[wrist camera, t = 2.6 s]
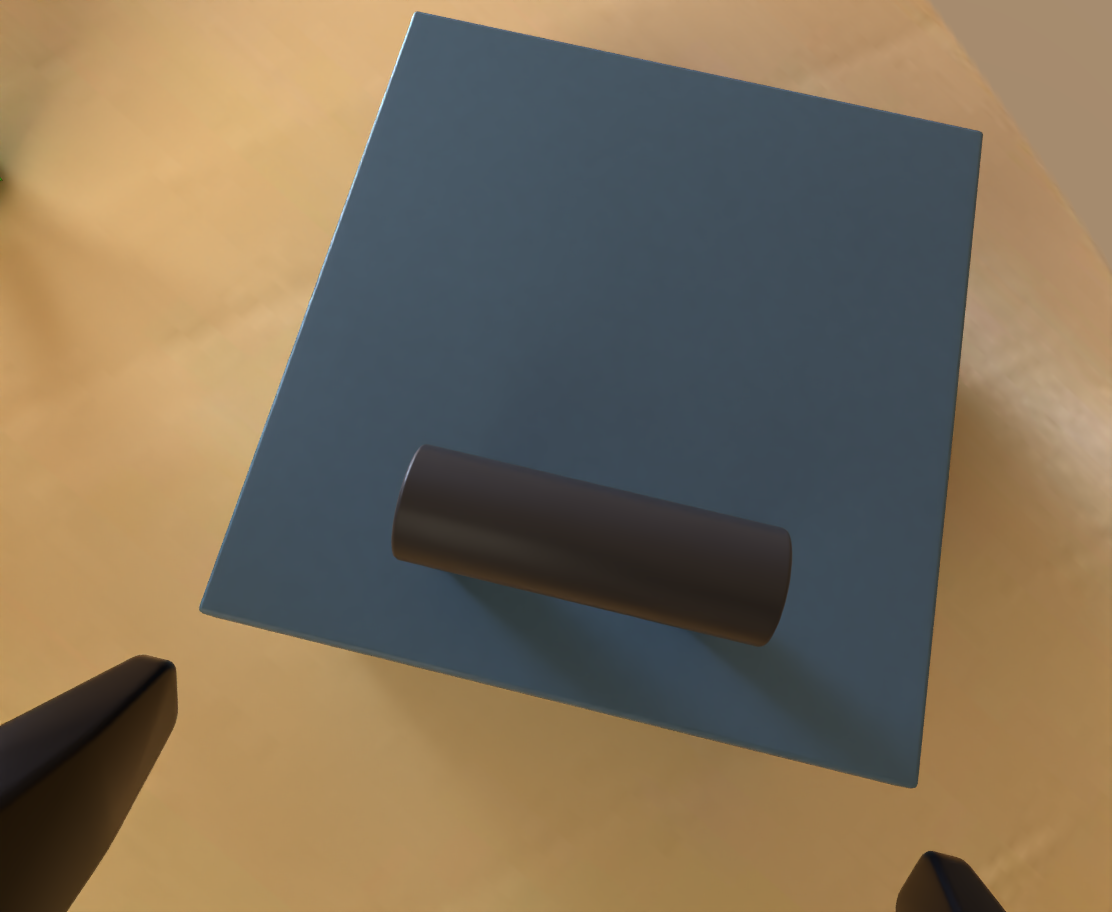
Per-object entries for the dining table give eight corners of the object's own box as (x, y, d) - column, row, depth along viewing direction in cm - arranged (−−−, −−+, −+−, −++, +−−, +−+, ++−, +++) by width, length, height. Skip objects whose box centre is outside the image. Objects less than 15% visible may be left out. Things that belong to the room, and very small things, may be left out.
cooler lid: (897, 785, 14) (1057, 817, 10) (212, 616, 14) (81, 576, 10) (965, 155, 18) (1102, -21, 13) (418, 38, 18) (385, -167, 14)
